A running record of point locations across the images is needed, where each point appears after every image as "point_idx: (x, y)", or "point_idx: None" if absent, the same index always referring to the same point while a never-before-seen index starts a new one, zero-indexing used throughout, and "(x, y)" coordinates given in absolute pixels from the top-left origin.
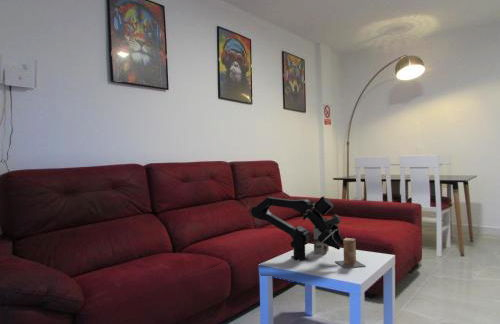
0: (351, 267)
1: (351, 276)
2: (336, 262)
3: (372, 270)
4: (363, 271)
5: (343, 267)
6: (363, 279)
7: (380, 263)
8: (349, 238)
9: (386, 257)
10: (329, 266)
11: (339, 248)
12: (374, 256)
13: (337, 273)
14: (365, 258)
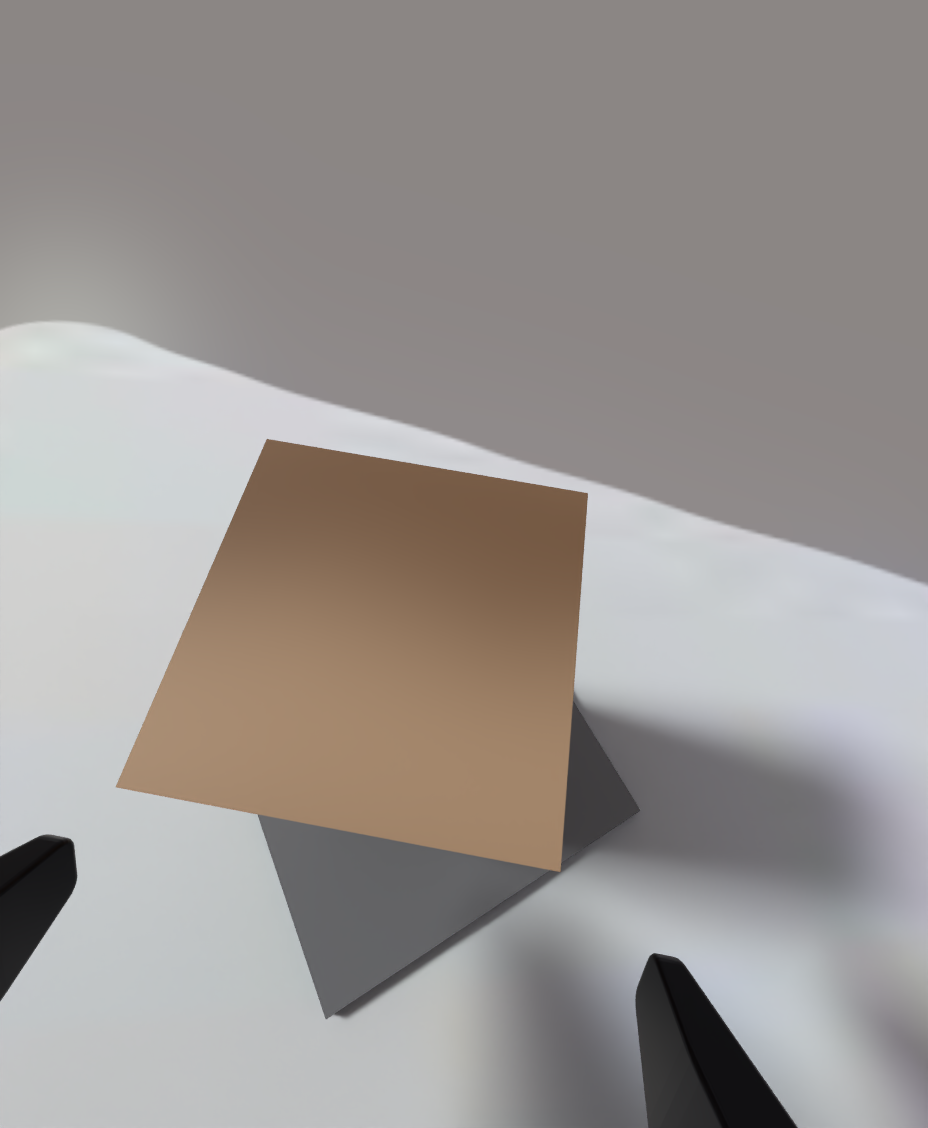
0: (578, 714)
1: (905, 707)
2: (382, 980)
3: (592, 495)
4: (662, 579)
5: (606, 830)
6: (922, 584)
7: (323, 416)
8: (234, 621)
9: (88, 353)
10: (614, 1106)
11: (680, 978)
12: (30, 450)
13: (897, 907)
14: (115, 545)
